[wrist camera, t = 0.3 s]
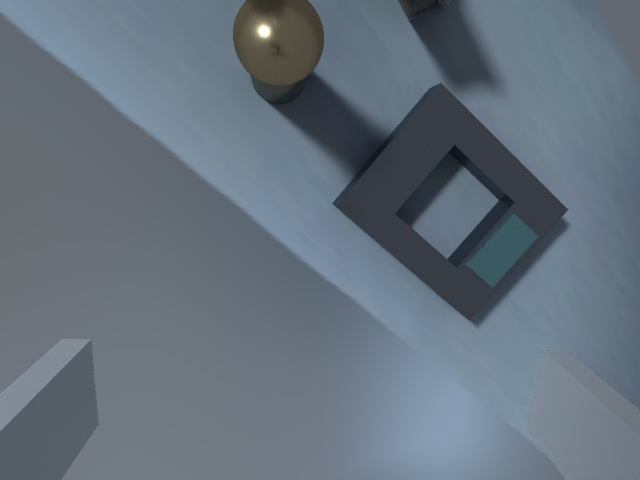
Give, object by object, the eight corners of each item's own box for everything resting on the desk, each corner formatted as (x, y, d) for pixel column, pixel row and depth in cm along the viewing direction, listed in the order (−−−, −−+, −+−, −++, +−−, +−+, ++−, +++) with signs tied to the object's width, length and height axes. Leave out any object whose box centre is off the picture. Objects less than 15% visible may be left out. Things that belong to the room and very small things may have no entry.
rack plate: (332, 203, 37) (336, 206, 35) (429, 88, 36) (441, 82, 34) (457, 310, 40) (470, 320, 38) (549, 206, 39) (569, 209, 37)
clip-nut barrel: (243, 44, 34) (227, -11, 23) (306, 41, 35) (320, -15, 24) (249, 110, 35) (238, 87, 24) (311, 106, 36) (327, 82, 25)
